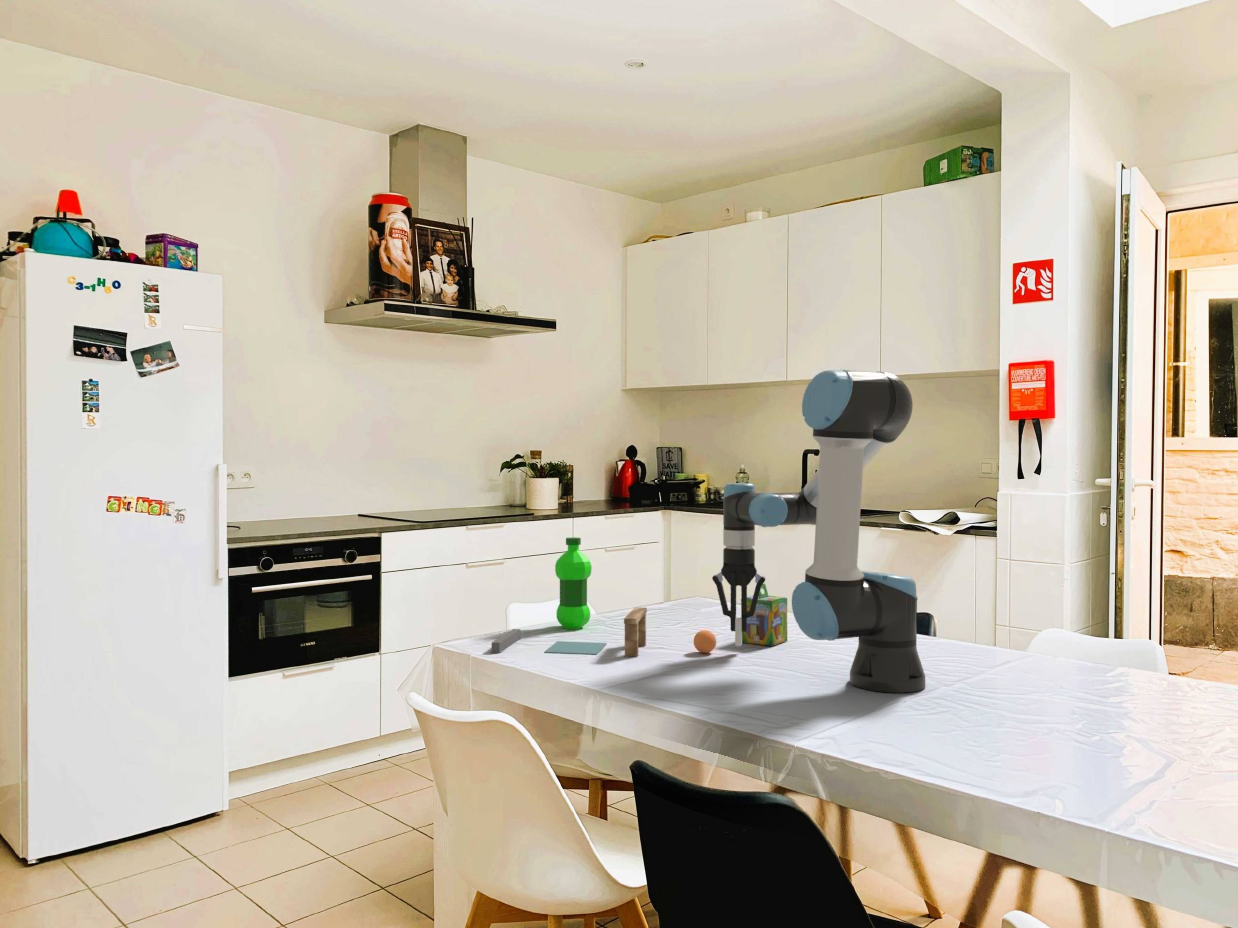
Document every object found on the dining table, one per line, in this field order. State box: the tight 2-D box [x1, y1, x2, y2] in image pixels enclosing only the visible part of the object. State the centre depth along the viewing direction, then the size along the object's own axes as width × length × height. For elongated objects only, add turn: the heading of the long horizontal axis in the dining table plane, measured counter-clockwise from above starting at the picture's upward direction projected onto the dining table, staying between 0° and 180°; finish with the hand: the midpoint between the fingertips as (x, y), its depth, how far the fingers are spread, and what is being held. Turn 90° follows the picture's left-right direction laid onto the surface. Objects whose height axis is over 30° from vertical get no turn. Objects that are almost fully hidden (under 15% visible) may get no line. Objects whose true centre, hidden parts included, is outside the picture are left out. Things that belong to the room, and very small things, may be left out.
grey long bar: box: [491, 628, 522, 654], centre depth 228 cm, size 18×2×2 cm, turn 170°
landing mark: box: [543, 640, 608, 656], centre depth 225 cm, size 13×13×1 cm
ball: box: [693, 629, 717, 654], centre depth 219 cm, size 6×6×6 cm
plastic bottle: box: [554, 537, 592, 630], centre depth 253 cm, size 10×10×25 cm
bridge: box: [623, 607, 648, 658], centre depth 222 cm, size 3×16×9 cm, turn 170°
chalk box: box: [742, 583, 788, 647], centre depth 233 cm, size 9×9×15 cm
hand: (738, 644), depth 218 cm, fingers closed
